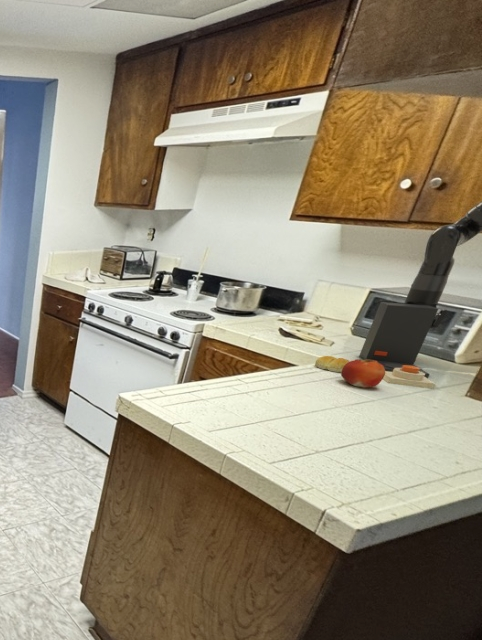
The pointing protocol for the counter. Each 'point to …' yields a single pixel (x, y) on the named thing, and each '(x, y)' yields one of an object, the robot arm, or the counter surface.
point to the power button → (410, 369)
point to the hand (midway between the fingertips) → (405, 337)
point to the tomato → (363, 373)
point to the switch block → (408, 378)
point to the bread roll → (331, 363)
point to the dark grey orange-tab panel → (398, 334)
